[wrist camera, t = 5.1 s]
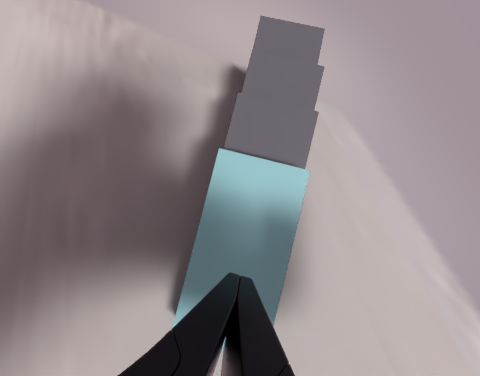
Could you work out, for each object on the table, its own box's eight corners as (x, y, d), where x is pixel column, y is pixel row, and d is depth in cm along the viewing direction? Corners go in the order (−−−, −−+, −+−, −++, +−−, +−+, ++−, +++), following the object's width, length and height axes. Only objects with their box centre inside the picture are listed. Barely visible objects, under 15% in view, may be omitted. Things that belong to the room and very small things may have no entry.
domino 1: (299, 153, 18) (324, 28, 19) (231, 139, 18) (260, 15, 19) (294, 158, 20) (318, 42, 21) (232, 145, 20) (259, 30, 21)
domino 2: (289, 211, 16) (324, 66, 17) (215, 192, 17) (252, 49, 17) (285, 210, 18) (317, 78, 19) (218, 193, 18) (251, 62, 19)
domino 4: (264, 360, 13) (310, 170, 13) (170, 334, 13) (219, 148, 14) (262, 342, 14) (303, 174, 15) (178, 320, 15) (221, 153, 15)
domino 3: (278, 275, 15) (318, 111, 15) (195, 253, 15) (238, 92, 15) (275, 268, 16) (311, 120, 17) (200, 248, 16) (238, 102, 17)
